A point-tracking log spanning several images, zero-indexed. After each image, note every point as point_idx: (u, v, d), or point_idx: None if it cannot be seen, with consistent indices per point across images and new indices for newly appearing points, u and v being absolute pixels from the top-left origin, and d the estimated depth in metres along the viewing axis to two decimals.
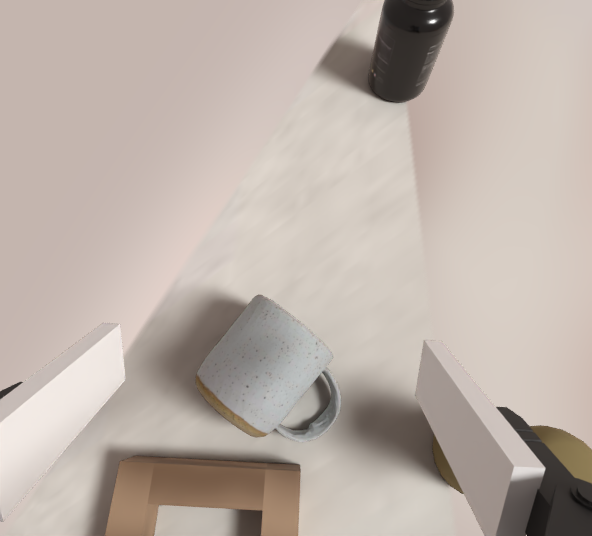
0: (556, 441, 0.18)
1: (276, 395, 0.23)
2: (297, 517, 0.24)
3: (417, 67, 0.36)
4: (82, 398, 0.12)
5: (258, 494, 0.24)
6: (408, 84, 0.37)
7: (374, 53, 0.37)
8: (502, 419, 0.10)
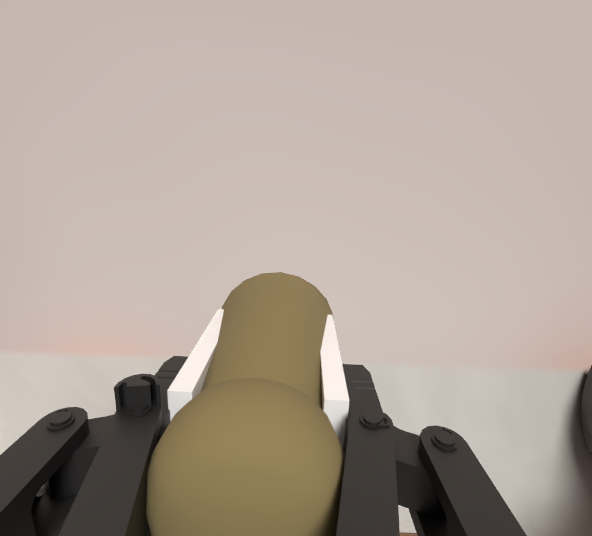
0: None
1: None
2: None
3: None
4: None
5: None
6: None
7: None
8: (340, 369, 0.12)
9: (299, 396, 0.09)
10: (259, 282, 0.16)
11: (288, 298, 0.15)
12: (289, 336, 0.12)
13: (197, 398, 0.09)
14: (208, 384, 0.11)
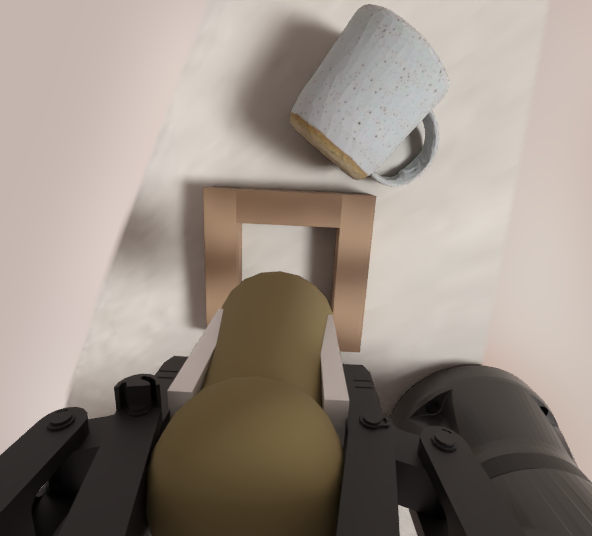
0: None
1: (387, 134, 0.21)
2: (371, 233, 0.27)
3: None
4: None
5: (336, 215, 0.26)
6: None
7: None
8: (340, 369, 0.12)
9: (299, 395, 0.09)
10: (259, 281, 0.16)
11: (288, 298, 0.15)
12: (289, 335, 0.12)
13: (197, 397, 0.09)
14: (208, 383, 0.11)
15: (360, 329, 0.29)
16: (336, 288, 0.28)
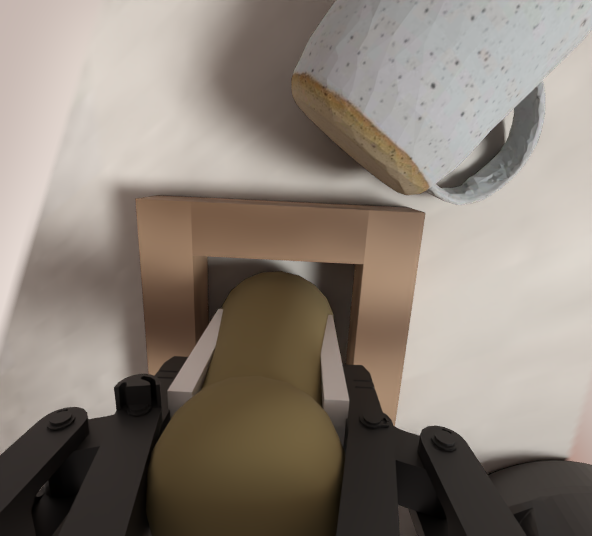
0: (156, 535, 0.08)
1: (483, 111, 0.11)
2: (414, 272, 0.16)
3: None
4: None
5: (358, 243, 0.16)
6: None
7: None
8: (340, 369, 0.12)
9: (299, 394, 0.09)
10: (259, 281, 0.16)
11: (288, 297, 0.15)
12: (289, 334, 0.12)
13: (197, 396, 0.09)
14: (208, 382, 0.11)
15: (392, 420, 0.18)
16: (356, 358, 0.17)
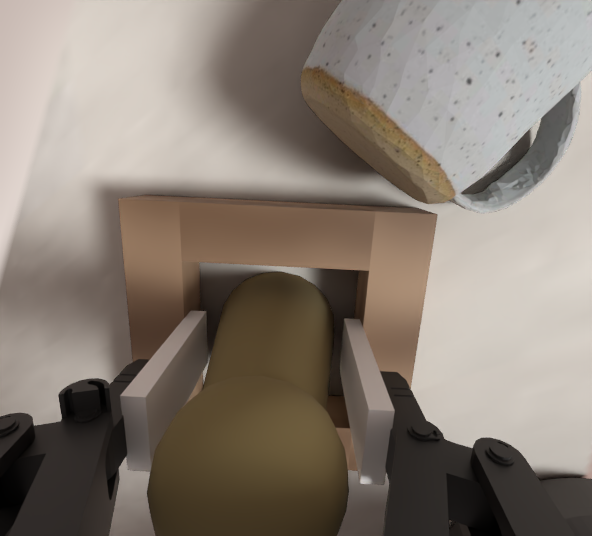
0: (160, 533, 0.08)
1: (522, 111, 0.09)
2: (425, 280, 0.15)
3: None
4: (187, 374, 0.14)
5: (363, 248, 0.14)
6: None
7: None
8: (379, 377, 0.12)
9: (301, 393, 0.09)
10: (260, 281, 0.17)
11: (288, 298, 0.15)
12: (290, 334, 0.13)
13: (199, 395, 0.09)
14: (210, 382, 0.11)
15: None
16: None
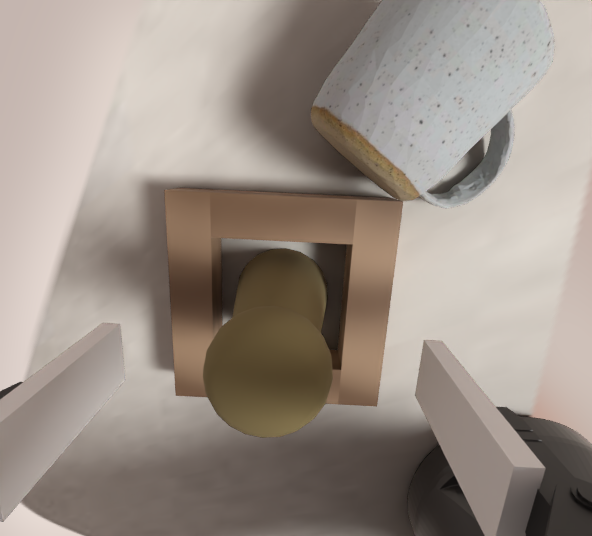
0: (213, 396, 0.13)
1: (459, 139, 0.14)
2: (395, 251, 0.20)
3: None
4: (82, 398, 0.12)
5: (348, 227, 0.19)
6: None
7: None
8: (502, 419, 0.10)
9: (301, 316, 0.14)
10: (269, 255, 0.21)
11: (291, 265, 0.20)
12: (293, 287, 0.17)
13: (235, 316, 0.14)
14: None
15: (378, 377, 0.22)
16: (347, 324, 0.21)
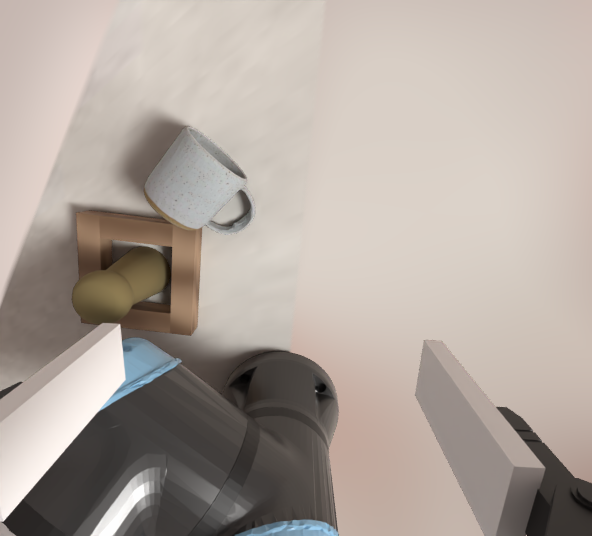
0: (73, 303, 0.31)
1: (198, 207, 0.33)
2: (194, 252, 0.38)
3: None
4: (82, 398, 0.12)
5: (169, 238, 0.38)
6: None
7: None
8: (502, 419, 0.10)
9: (119, 275, 0.33)
10: (135, 249, 0.40)
11: (141, 255, 0.39)
12: (132, 265, 0.36)
13: (89, 273, 0.32)
14: None
15: (190, 319, 0.41)
16: (172, 288, 0.40)
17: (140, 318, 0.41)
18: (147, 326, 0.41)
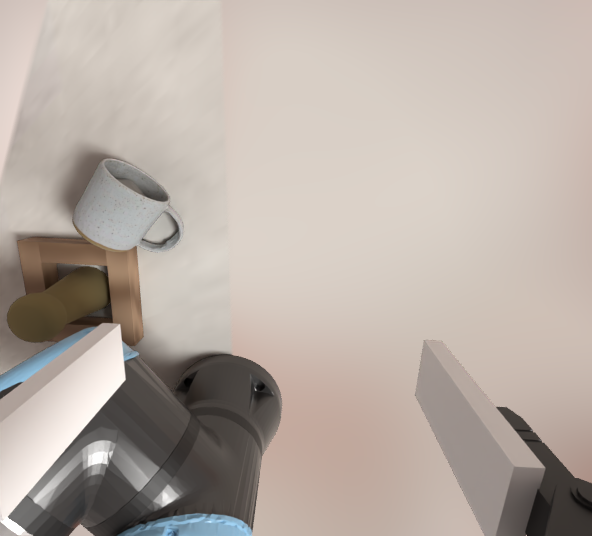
0: (9, 325, 0.35)
1: (121, 232, 0.36)
2: (127, 269, 0.42)
3: None
4: (82, 398, 0.12)
5: (103, 257, 0.41)
6: None
7: None
8: (502, 419, 0.10)
9: (50, 296, 0.36)
10: (76, 270, 0.43)
11: (80, 275, 0.42)
12: (68, 285, 0.39)
13: None
14: None
15: (132, 330, 0.44)
16: (112, 304, 0.43)
17: None
18: None
